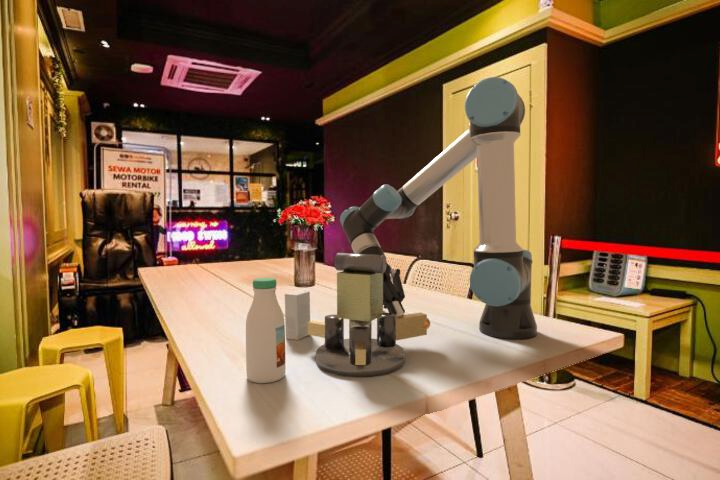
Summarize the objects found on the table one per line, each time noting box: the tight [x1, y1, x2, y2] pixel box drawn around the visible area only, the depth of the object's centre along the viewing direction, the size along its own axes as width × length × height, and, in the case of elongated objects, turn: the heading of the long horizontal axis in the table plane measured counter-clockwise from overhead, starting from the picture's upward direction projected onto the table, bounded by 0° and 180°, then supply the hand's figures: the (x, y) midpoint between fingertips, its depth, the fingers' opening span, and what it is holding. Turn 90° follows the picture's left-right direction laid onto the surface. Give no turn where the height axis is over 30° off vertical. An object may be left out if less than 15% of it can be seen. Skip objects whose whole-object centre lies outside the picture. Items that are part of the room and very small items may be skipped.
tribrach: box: [308, 252, 406, 378], centre depth 94 cm, size 24×23×24 cm
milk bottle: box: [245, 277, 286, 384], centre depth 85 cm, size 8×8×20 cm
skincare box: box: [284, 289, 311, 341], centre depth 113 cm, size 6×4×12 cm
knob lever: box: [376, 312, 431, 348], centre depth 101 cm, size 15×4×7 cm, turn 120°
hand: (403, 325), depth 105 cm, fingers closed
